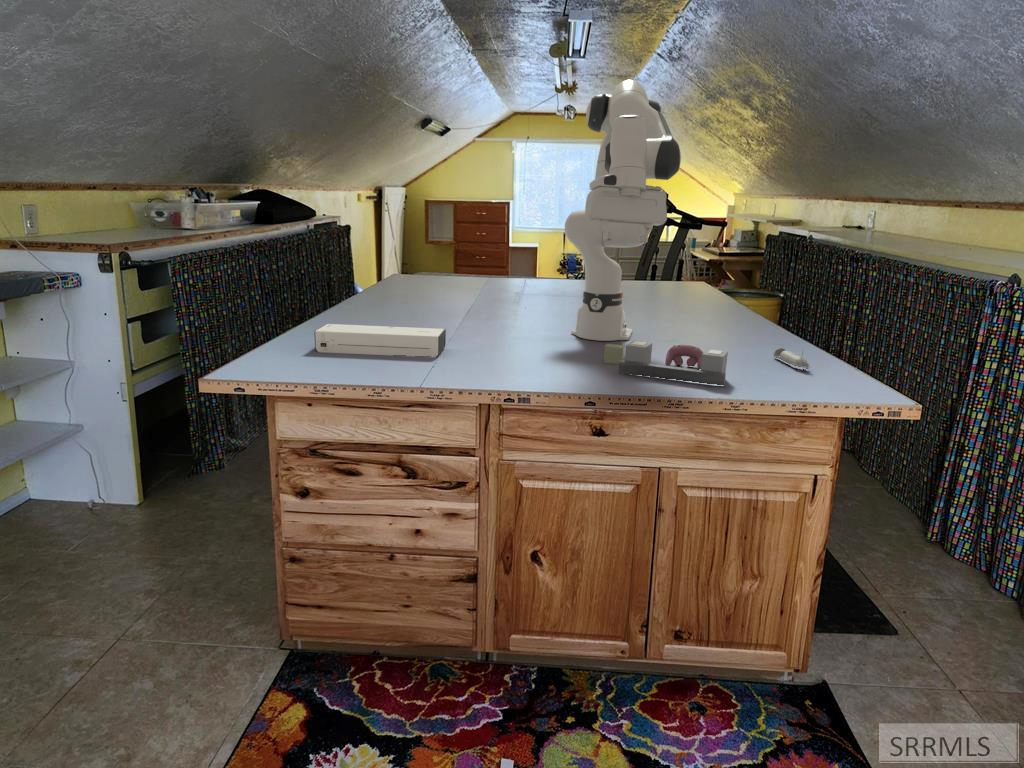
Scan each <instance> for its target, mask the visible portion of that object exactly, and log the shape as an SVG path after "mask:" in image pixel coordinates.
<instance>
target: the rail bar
mask: <svg viewBox="0 0 1024 768" xmlns="http://www.w3.org/2000/svg"><path fill="white" fill-rule="evenodd" d="M618 363H619V364H618V374H619V373H623V374H622V375H626V374H632V375H631V376H633V375H642V376H650V377H659V378H665V379H676V380H683V381H692V382H699V383H707V384H717V385H724V384H726V383H725V382H726V376H727V372H726V373H721V372H713V371H705V370H698V368H697V369H696V368H695V369H694V368H690V367H688V368H687V367H681V366H672V365H670V366H666V365H663V364H654V363H651V364H649V363H641V362H633V361H625V359H624V360H620V361H619V362H618Z"/></svg>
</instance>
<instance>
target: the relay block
mask: <svg viewBox="0 0 1024 768" xmlns="http://www.w3.org/2000/svg"><path fill="white" fill-rule="evenodd" d="M603 351H604V353H603V362H604V364H612V363H618V362H619V361H620V360H625V351H626V345H625V344H613V343H606V344H605V345H604V349H603Z"/></svg>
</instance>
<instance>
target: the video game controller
mask: <svg viewBox="0 0 1024 768" xmlns="http://www.w3.org/2000/svg"><path fill="white" fill-rule="evenodd" d="M703 353H704V352H703V350H702V349H700V347H696V346H693V345H690V344H680V345H673V346H671V347H670V348H669V349H668V351H667V353H666V356H665V366H671V364H672V362H674V364H675V366H677V365H681V366H683V364H684V359H683V357H687V359H686V365H688V366H694V367H695V366H696V365H697V370H698V369H701V361H702V354H703ZM688 366H687V367H688Z"/></svg>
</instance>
